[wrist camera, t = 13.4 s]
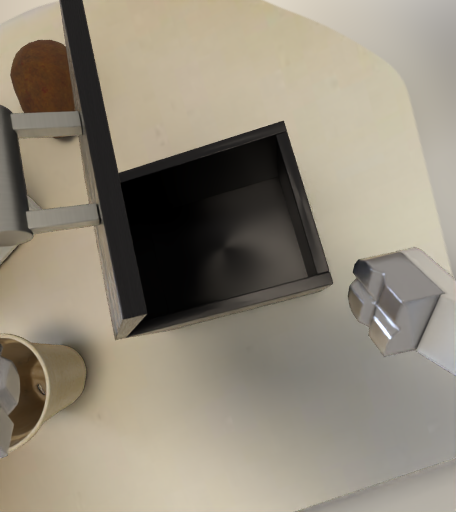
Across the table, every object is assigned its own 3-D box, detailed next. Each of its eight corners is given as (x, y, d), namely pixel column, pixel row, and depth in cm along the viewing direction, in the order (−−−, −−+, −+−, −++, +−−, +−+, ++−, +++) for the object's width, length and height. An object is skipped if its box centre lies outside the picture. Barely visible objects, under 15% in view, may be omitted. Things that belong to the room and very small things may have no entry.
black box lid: (79, -13, 14) (-77, -24, 12) (147, 314, 12) (-33, 354, 10) (95, 178, 30) (25, 185, 28) (126, 337, 27) (52, 355, 26)
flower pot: (48, 312, 40) (-17, 312, 31) (119, 357, 38) (69, 370, 29) (4, 391, 39) (-75, 413, 31) (73, 440, 37) (9, 479, 29)
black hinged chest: (285, 169, 38) (283, 120, 28) (321, 291, 35) (333, 283, 26) (140, 212, 39) (92, 181, 30) (166, 331, 37) (123, 338, 28)
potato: (37, 148, 43) (-11, 118, 36) (38, 67, 44) (-8, 22, 38) (94, 139, 42) (56, 106, 35) (92, 56, 43) (55, 9, 36)
